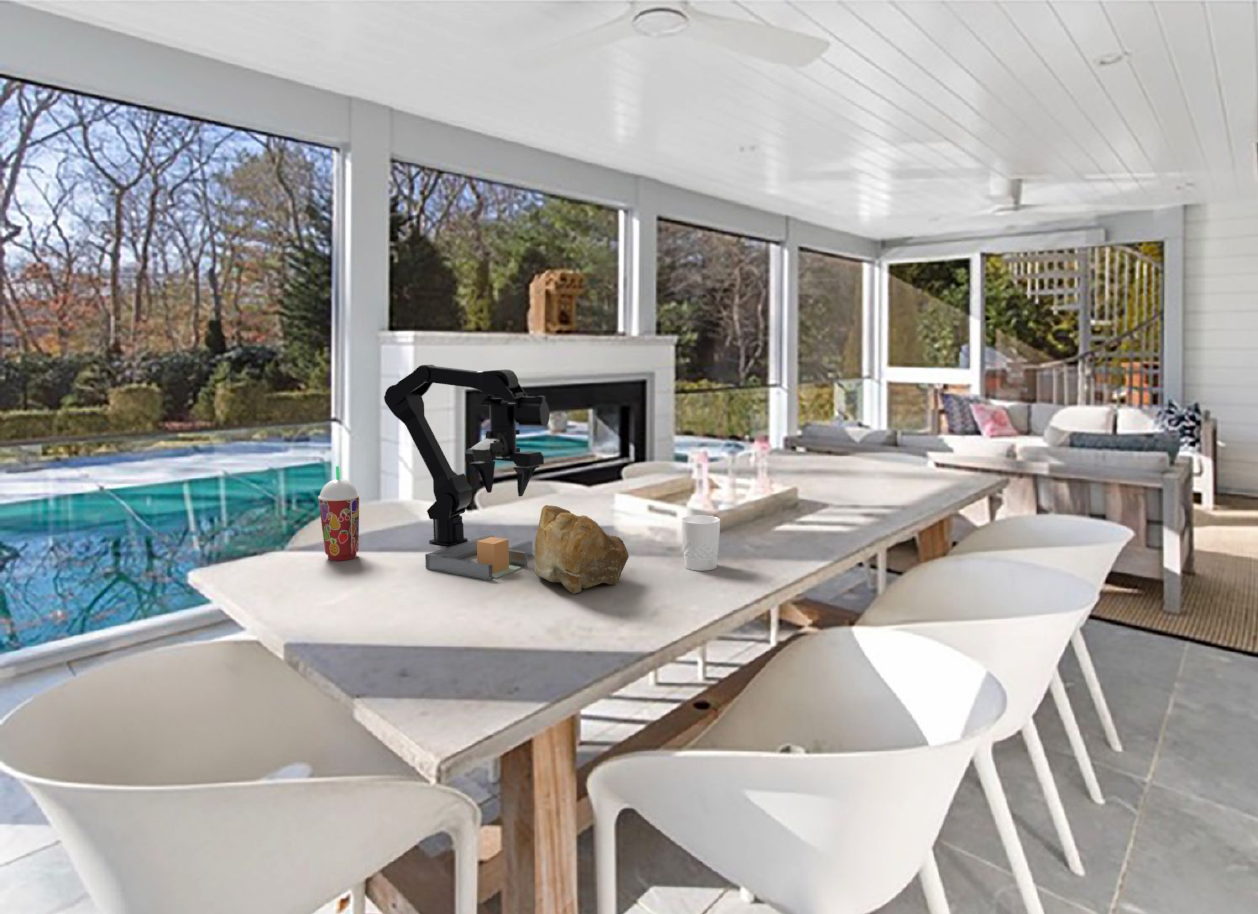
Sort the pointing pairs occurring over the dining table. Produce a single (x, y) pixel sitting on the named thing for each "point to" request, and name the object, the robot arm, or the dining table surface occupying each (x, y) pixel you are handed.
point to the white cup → (700, 542)
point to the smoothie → (340, 518)
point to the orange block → (494, 553)
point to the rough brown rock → (576, 551)
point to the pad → (506, 571)
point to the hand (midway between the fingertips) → (504, 494)
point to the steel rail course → (454, 564)
